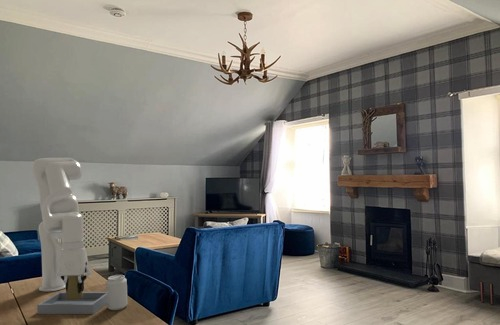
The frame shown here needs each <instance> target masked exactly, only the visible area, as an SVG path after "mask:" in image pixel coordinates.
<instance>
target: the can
mask: <svg viewBox="0 0 500 325" xmlns="http://www.w3.org/2000/svg"><path fill="white" fill-rule="evenodd" d="M105 283H106V292H107V303H106V307H107V309H109V310H110V311H121V310H123V309H125V308H126V306H128V284H127V283H128V282H127V278H126V277H125V275H123V274H115V275H111V276H108V278H107V281H106V282H105Z"/></svg>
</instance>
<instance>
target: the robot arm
mask: <svg viewBox="0 0 500 325" xmlns="http://www.w3.org/2000/svg"><path fill="white" fill-rule="evenodd" d="M31 168H32V174H33V177H34V180H35V182H36V183H37V186H38V191H39V192H38V193H39V204H40V205H39V206H40V212H41V219H42V221H41V222H40V223H39V225H38V235H39V240H40V245H41V246H40V248H41V249H40V250H41V274H42V275H41V276H42V277H41V278H42V284H41V285H40V286H39V287H38V291H39V292H43V293H44V292H46V293H47V292H55V291H57V292H58V291H60V290H64V289H65V292H66V293H67V290H68V280H69V279H68V278H67V276H78V281H79V283H78V284H77V287H78V293H81V291H82V292H84V289H85V281H86V280H87V279H88V277H90V276H91V275H92V274H93V272H92V271H91V269H90V268H89V259H88V254H87V250H86V249H87V248H85V244H84V243H85V240H84V239H85V238H84V217H83V215H82V214H80V208H79V201H78V198H77V197H76V196H75V195H74V194H72V192H73V189H72V185H71V182H70V181H75V180H80V179H81V177H82V174H83V170H82V166H81V163H79V161H78V160H75V159H74V158H72V157H45V158H44V157H42V158H38V159H35V160H34V161H33V163H32V167H31ZM60 240H62V242H60Z"/></svg>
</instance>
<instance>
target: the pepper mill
mask: <svg viewBox="0 0 500 325" xmlns="http://www.w3.org/2000/svg"><path fill="white" fill-rule="evenodd" d="M67 278H68V279H69V280H68V290H67V300H77V299H80V298H82V297H83V292H84V291H81V293H78V287H77V284H78V283H79V281H78V276H67Z"/></svg>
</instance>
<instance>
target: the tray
mask: <svg viewBox="0 0 500 325" xmlns="http://www.w3.org/2000/svg"><path fill="white" fill-rule="evenodd" d="M82 292H83V297H82V298H80V299H77V300H67V293H66V291H59V292H57V293H55V294H54V295H52V296H50V297H48V298H47V299H45V300H43V301H41V302H40V303H37V314H38V315H63V314H64V315H94V314H95V313H96V312H98V311H99V310H100V309H101V308H103V307H104V306H106V305H107V291H82Z"/></svg>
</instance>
